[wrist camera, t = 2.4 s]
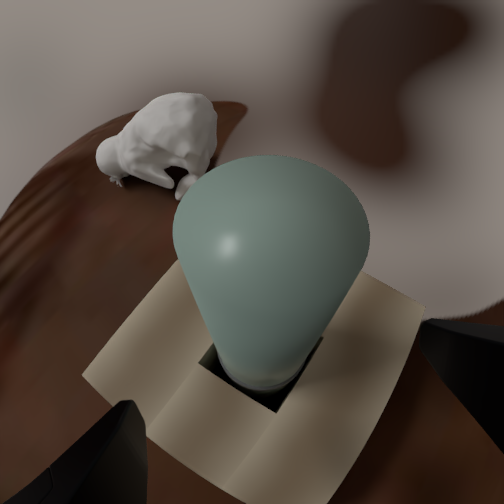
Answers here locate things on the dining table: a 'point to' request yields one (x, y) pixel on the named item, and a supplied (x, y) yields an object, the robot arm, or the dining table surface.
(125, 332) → the square hole wooden block
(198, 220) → the plug
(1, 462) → the dining table surface
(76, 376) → the dining table surface
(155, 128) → the white rounded figure
